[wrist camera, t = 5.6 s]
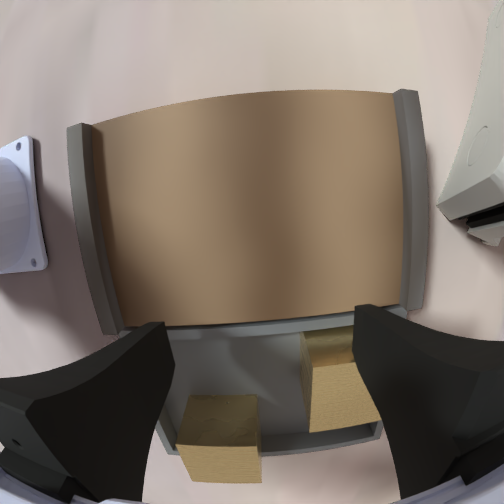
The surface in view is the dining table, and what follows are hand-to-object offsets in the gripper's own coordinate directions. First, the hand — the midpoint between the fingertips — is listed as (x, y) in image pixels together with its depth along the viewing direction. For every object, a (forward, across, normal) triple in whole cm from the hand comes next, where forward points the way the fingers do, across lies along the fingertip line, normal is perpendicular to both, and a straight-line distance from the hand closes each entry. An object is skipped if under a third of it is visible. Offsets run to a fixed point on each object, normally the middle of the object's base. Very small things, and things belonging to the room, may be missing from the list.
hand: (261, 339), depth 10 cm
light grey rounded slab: (+4, -15, -10) cm, 19 cm away
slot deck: (+4, 0, -4) cm, 6 cm away
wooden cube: (+2, +3, +6) cm, 7 cm away
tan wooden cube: (+2, -4, +1) cm, 4 cm away
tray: (+4, 0, +6) cm, 7 cm away
